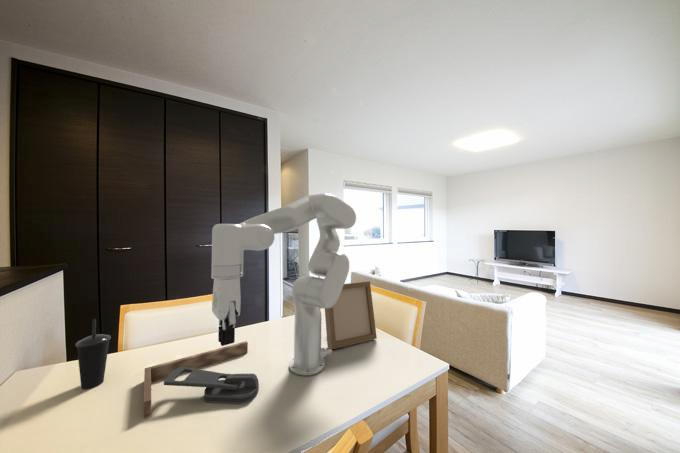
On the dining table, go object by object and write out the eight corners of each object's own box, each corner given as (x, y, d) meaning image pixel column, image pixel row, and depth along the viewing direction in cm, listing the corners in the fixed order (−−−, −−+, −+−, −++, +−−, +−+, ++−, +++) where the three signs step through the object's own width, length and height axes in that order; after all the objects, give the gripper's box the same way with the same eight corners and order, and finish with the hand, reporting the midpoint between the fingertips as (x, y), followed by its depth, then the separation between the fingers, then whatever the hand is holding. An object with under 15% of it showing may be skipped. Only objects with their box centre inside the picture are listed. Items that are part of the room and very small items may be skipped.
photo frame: (376, 340, 107) (377, 283, 107) (332, 351, 97) (332, 288, 97) (358, 328, 120) (359, 277, 120) (317, 337, 110) (318, 281, 110)
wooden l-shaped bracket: (246, 351, 96) (246, 341, 96) (264, 373, 82) (264, 361, 82) (144, 381, 77) (144, 368, 77) (143, 417, 62) (143, 402, 62)
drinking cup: (68, 395, 70) (70, 325, 70) (81, 380, 77) (83, 317, 77) (104, 388, 73) (105, 321, 74) (113, 374, 80) (115, 313, 81)
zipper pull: (178, 364, 75) (261, 362, 77) (178, 386, 75) (261, 383, 76) (159, 383, 66) (253, 379, 68) (158, 407, 66) (253, 404, 68)
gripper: (205, 268, 67) (204, 335, 67) (218, 277, 55) (217, 359, 55) (234, 266, 72) (233, 328, 72) (252, 274, 60) (251, 350, 59)
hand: (226, 341), depth 63 cm, fingers closed
